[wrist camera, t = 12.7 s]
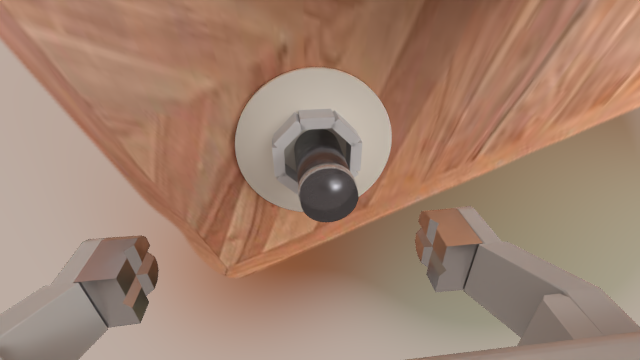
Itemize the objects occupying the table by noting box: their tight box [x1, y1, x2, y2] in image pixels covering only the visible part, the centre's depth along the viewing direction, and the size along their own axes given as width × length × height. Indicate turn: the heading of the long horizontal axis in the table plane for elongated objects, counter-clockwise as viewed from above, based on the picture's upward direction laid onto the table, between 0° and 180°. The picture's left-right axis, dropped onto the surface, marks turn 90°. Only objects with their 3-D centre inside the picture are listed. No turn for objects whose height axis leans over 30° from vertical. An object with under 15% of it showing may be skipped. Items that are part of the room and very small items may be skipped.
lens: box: [294, 129, 358, 222], centre depth 33 cm, size 5×5×10 cm
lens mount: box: [235, 67, 392, 212], centre depth 37 cm, size 18×18×4 cm
